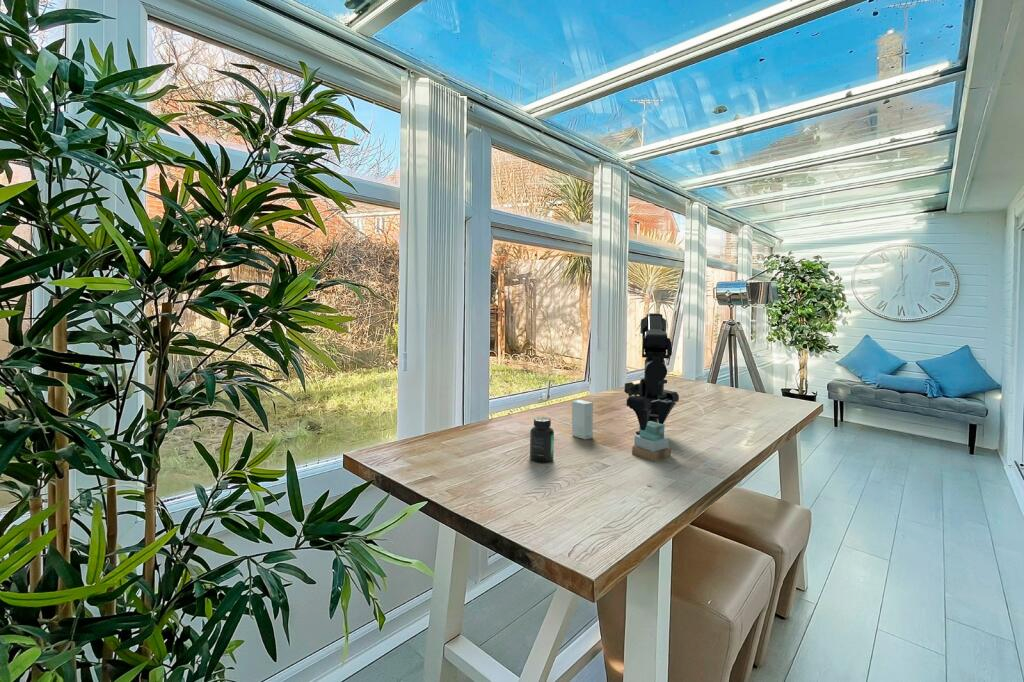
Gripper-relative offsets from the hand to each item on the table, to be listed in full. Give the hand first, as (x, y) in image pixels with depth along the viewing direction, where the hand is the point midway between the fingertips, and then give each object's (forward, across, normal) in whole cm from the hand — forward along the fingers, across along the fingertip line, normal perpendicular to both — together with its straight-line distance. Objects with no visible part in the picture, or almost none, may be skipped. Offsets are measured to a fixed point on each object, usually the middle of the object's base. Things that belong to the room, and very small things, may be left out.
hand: (651, 427), depth 137 cm
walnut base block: (+9, 0, 0) cm, 9 cm away
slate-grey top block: (+6, 0, 0) cm, 6 cm away
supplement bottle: (+9, +29, -17) cm, 35 cm away
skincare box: (+9, +3, -25) cm, 27 cm away
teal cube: (+3, 0, 0) cm, 3 cm away
